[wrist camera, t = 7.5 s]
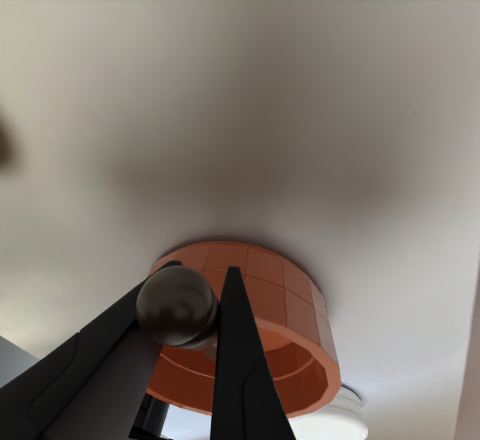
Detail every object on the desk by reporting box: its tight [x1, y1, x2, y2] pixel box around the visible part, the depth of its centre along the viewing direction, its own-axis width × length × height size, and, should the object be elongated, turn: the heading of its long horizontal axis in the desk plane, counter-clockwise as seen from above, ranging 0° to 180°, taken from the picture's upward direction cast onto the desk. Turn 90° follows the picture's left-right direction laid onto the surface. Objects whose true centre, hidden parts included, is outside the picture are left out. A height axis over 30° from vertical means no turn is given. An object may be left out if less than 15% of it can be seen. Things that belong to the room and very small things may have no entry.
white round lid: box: [288, 387, 368, 440], centre depth 27 cm, size 10×10×4 cm
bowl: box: [140, 241, 342, 419], centre depth 18 cm, size 16×16×6 cm
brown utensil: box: [136, 266, 220, 362], centre depth 13 cm, size 19×4×10 cm, turn 179°
